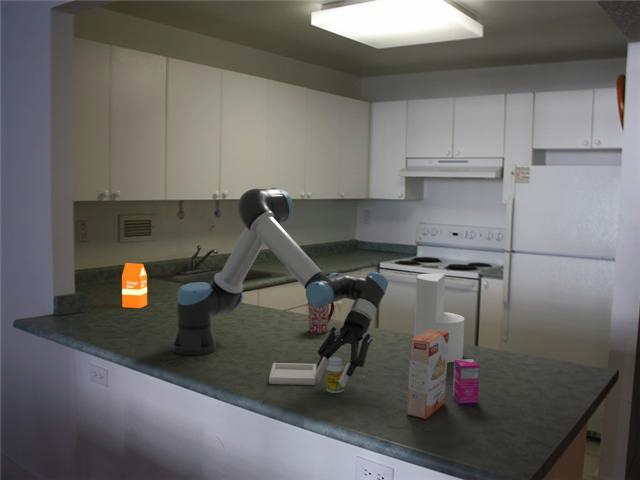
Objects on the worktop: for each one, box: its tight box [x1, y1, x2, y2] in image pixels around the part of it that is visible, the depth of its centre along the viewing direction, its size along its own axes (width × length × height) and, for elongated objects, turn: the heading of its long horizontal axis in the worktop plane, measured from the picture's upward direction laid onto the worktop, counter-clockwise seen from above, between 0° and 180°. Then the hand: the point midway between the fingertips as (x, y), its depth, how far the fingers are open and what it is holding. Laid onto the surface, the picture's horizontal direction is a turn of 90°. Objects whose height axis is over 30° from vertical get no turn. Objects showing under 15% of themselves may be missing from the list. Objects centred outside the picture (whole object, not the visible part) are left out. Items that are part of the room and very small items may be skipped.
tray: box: [268, 362, 317, 386], centre depth 190 cm, size 14×14×2 cm
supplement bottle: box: [325, 356, 346, 394], centre depth 179 cm, size 5×5×10 cm
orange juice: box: [121, 262, 148, 309], centre depth 283 cm, size 8×9×20 cm
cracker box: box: [406, 329, 449, 420], centre depth 165 cm, size 14×6×21 cm, turn 147°
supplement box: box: [452, 358, 480, 406], centre depth 172 cm, size 6×6×12 cm
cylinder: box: [413, 273, 465, 363], centre depth 215 cm, size 17×17×28 cm
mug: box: [307, 301, 335, 335], centre depth 245 cm, size 13×9×14 cm
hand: (328, 381), depth 176 cm, fingers open, 8 cm apart
